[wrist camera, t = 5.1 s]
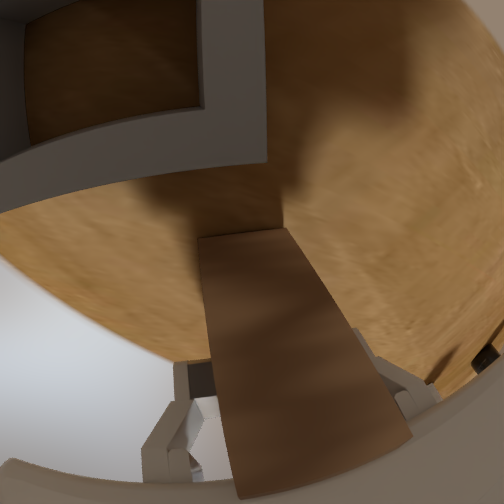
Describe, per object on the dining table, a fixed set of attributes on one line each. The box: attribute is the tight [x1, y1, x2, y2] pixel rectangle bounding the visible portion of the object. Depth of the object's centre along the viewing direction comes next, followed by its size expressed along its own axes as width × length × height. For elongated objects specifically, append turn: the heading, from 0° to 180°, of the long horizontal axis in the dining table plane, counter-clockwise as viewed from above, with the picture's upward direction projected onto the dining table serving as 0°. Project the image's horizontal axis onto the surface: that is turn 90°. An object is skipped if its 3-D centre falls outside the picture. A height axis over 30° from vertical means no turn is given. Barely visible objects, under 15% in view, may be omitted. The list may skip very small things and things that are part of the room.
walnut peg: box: [198, 228, 413, 500], centre depth 10 cm, size 4×6×10 cm
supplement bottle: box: [471, 344, 501, 374], centre depth 35 cm, size 7×7×12 cm
